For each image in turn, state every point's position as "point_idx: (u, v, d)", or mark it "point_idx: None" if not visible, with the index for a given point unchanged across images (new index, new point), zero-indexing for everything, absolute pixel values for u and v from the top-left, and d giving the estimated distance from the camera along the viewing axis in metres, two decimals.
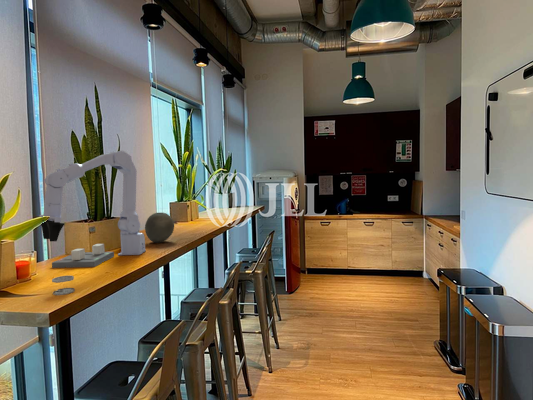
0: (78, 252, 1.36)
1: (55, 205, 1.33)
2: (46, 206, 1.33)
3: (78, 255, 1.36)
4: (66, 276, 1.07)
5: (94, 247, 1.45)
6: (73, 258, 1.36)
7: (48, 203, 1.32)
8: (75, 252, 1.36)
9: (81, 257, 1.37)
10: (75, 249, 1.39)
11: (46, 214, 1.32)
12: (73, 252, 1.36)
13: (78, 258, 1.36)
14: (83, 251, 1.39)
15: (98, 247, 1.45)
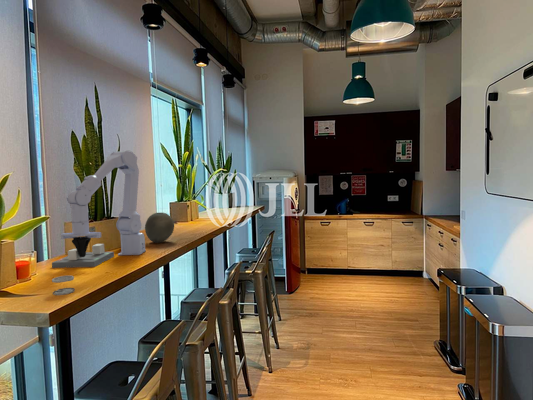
0: (74, 252, 1.36)
1: (87, 222, 1.37)
2: (80, 225, 1.35)
3: (74, 255, 1.36)
4: (66, 276, 1.07)
5: (94, 247, 1.45)
6: (70, 258, 1.36)
7: (82, 221, 1.35)
8: (71, 252, 1.36)
9: (77, 257, 1.37)
10: None
11: (81, 232, 1.35)
12: (69, 252, 1.36)
13: (74, 258, 1.36)
14: None
15: (98, 247, 1.45)
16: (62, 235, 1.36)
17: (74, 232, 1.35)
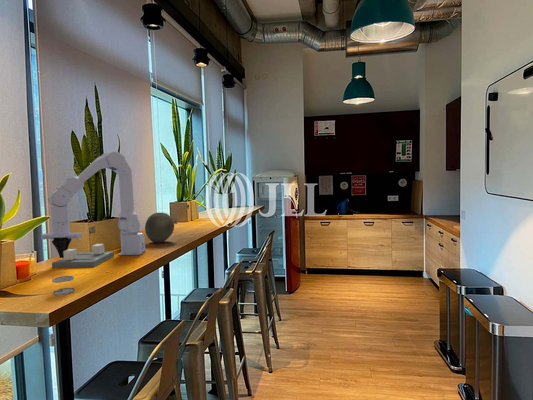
0: (70, 252, 1.36)
1: (67, 223, 1.37)
2: (60, 225, 1.35)
3: (70, 255, 1.36)
4: (66, 276, 1.07)
5: (94, 247, 1.45)
6: (65, 258, 1.36)
7: (62, 222, 1.35)
8: (67, 252, 1.36)
9: (73, 257, 1.37)
10: None
11: (61, 233, 1.35)
12: (65, 252, 1.36)
13: (70, 258, 1.36)
14: (75, 251, 1.39)
15: (98, 247, 1.45)
16: (42, 236, 1.37)
17: (54, 233, 1.35)
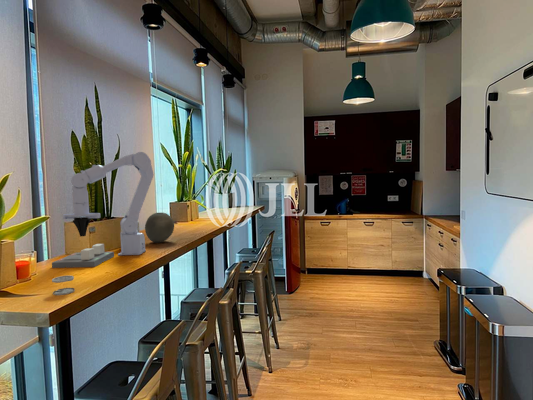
0: (87, 252, 1.36)
1: (87, 203, 1.47)
2: (80, 206, 1.44)
3: (87, 255, 1.36)
4: (66, 276, 1.07)
5: (94, 247, 1.45)
6: (83, 258, 1.36)
7: (82, 203, 1.45)
8: (84, 252, 1.36)
9: (90, 257, 1.37)
10: (84, 249, 1.38)
11: (82, 213, 1.45)
12: (82, 252, 1.36)
13: (87, 258, 1.36)
14: (92, 251, 1.39)
15: (98, 247, 1.45)
16: (64, 215, 1.46)
17: (75, 212, 1.44)
